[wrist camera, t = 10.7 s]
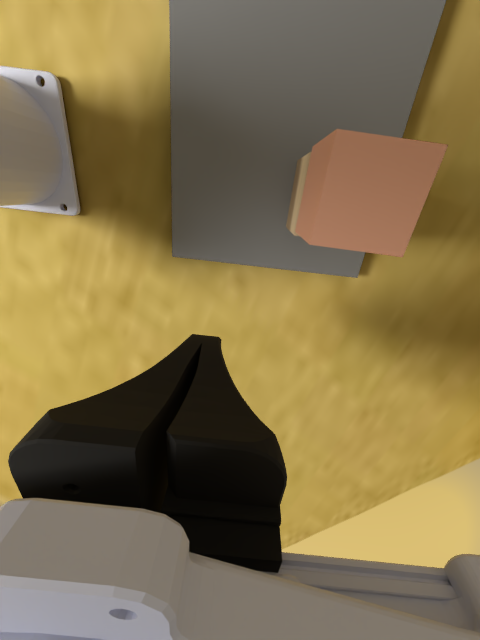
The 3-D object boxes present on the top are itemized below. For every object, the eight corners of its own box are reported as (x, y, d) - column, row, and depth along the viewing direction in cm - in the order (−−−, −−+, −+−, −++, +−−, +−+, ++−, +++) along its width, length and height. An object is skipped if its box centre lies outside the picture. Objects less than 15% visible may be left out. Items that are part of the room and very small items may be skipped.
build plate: (176, 253, 20) (172, 256, 19) (174, -200, 11) (166, -240, 10) (351, 273, 21) (357, 277, 20) (484, -157, 12) (507, -192, 11)
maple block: (285, 226, 18) (294, 235, 15) (297, 160, 16) (310, 151, 13) (342, 233, 18) (364, 243, 15) (360, 167, 16) (390, 161, 13)
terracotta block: (294, 231, 14) (309, 244, 11) (312, 146, 13) (337, 128, 9) (365, 241, 15) (402, 257, 11) (392, 157, 13) (448, 144, 9)
